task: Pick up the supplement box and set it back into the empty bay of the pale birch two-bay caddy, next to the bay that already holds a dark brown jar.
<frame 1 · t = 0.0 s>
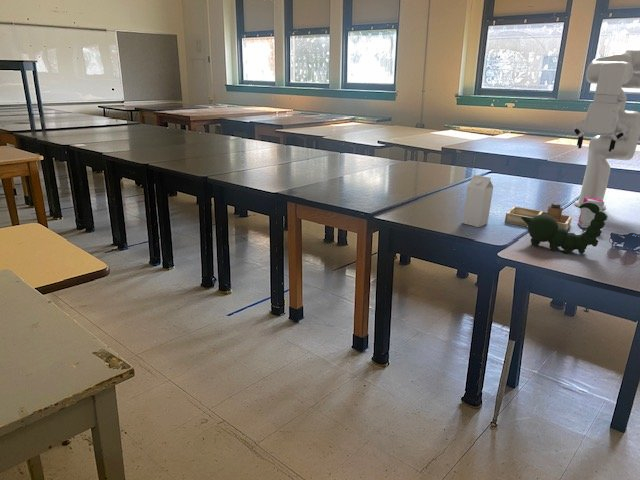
hand: (594, 149, 172), 31 cm above the table, tool pointing down, fingers open, 9 cm apart
toy figurine: (555, 249, 165), on the table
supplement box: (587, 228, 188), on the table
milk carton: (474, 224, 189), on the table
caddy: (537, 223, 191), on the table
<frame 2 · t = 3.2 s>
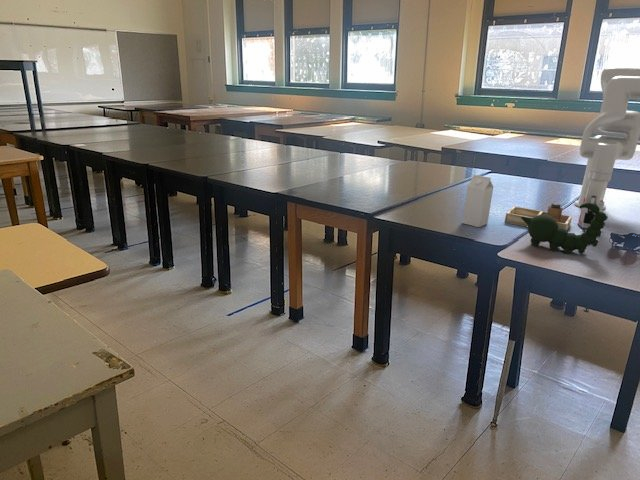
hand: (589, 220, 187), 3 cm above the table, tool pointing down, fingers closed on supplement box, 7 cm apart
supplement box: (587, 228, 188), on the table, touching gripper
everything else where it was.
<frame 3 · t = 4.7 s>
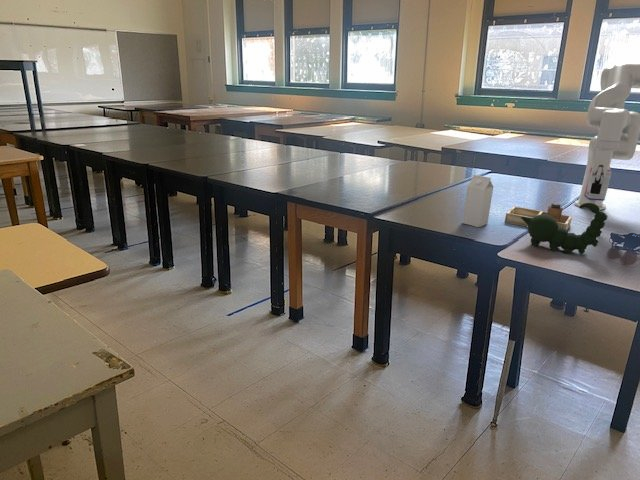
hand: (595, 190, 184), 15 cm above the table, tool pointing down, fingers closed on supplement box, 7 cm apart
supplement box: (594, 198, 185), point 11 cm above the table, touching gripper
everything else where it was.
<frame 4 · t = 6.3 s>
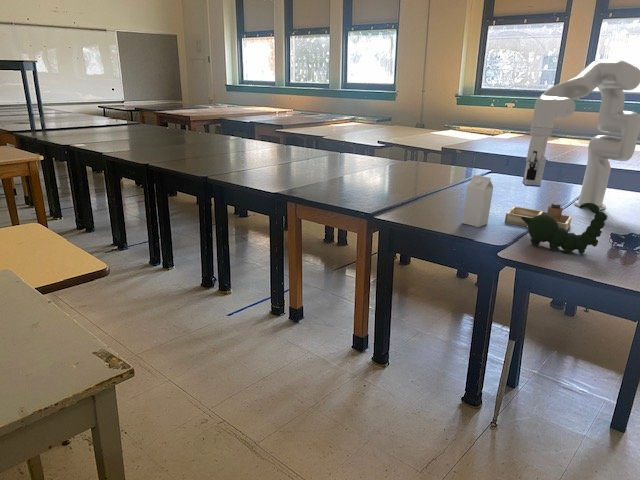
hand: (532, 177, 187), 18 cm above the table, tool pointing down, fingers closed on supplement box, 7 cm apart
supplement box: (531, 185, 188), point 15 cm above the table, touching gripper
everything else where it was.
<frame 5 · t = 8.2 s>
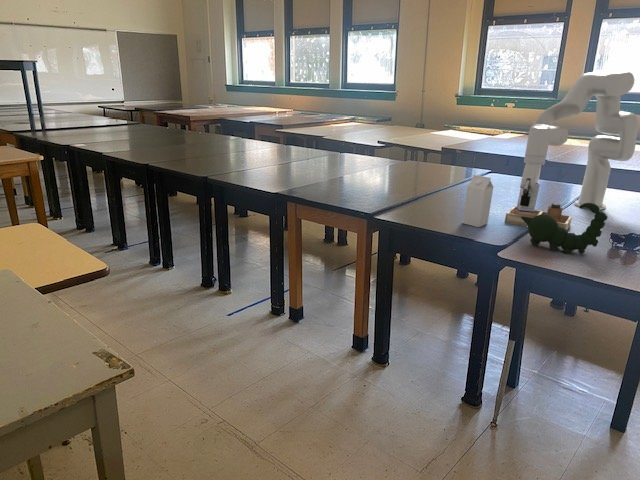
hand: (526, 203, 191), 7 cm above the table, tool pointing down, fingers closed on supplement box, 7 cm apart
supplement box: (525, 210, 192), point 4 cm above the table, touching gripper
everything else where it was.
when the fingers open (5 cm above the table, at t = 9.7 s): supplement box drops 1 cm, resting on caddy.
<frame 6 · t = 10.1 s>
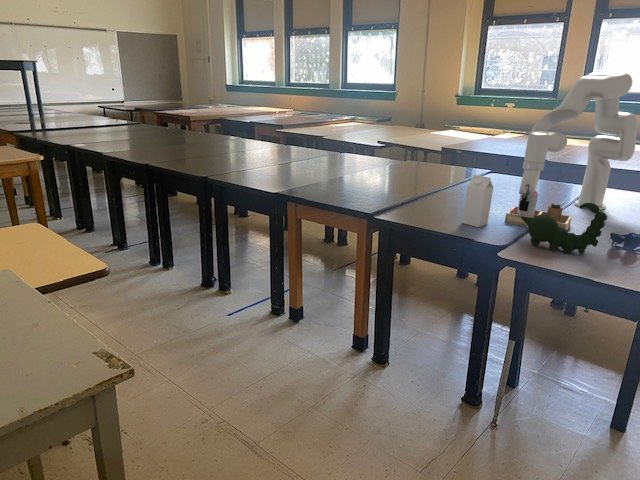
hand: (525, 207, 192), 6 cm above the table, tool pointing down, fingers open, 9 cm apart
supplement box: (524, 219, 194), point 1 cm above the table, touching caddy
everything else where it was.
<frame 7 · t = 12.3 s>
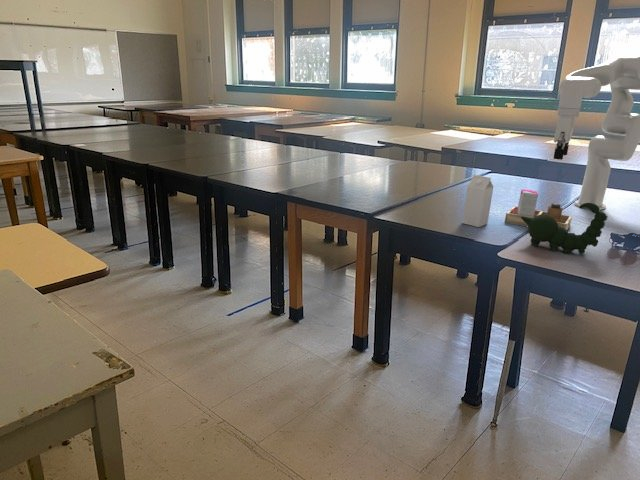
hand: (560, 156, 190), 25 cm above the table, tool pointing down, fingers open, 9 cm apart
nothing on the table moved.
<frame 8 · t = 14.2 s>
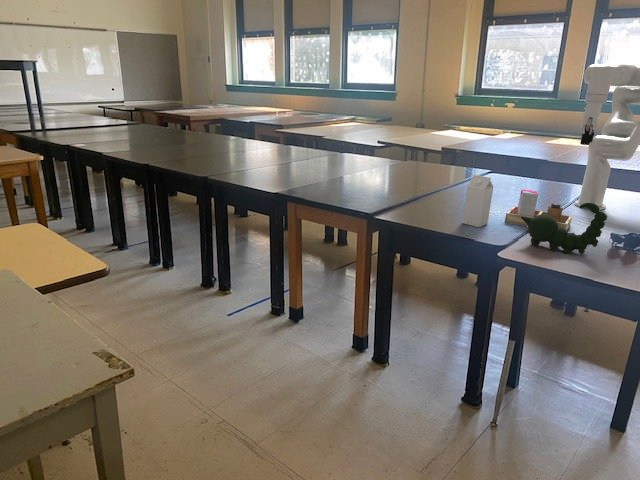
hand: (586, 143, 193), 30 cm above the table, tool pointing down, fingers open, 9 cm apart
nothing on the table moved.
at the end: supplement box inside the target area on the caddy (0.6 cm from its centre), point 0.6 cm above the caddy's base; supplement box tilted 0°; the gripper is holding nothing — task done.
